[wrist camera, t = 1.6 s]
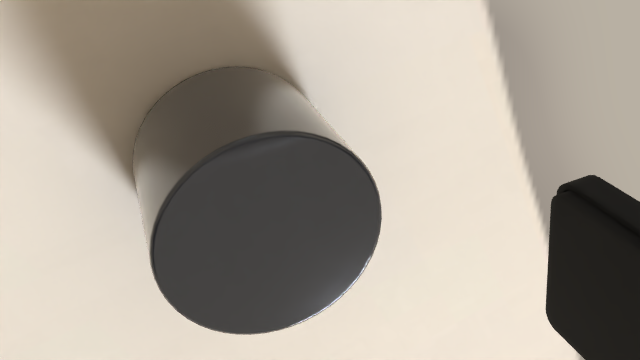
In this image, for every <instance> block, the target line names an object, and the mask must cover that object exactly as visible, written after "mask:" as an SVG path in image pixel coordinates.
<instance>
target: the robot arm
mask: <svg viewBox="0 0 640 360" xmlns="http://www.w3.org/2000/svg"><path fill="white" fill-rule="evenodd" d="M546 314H547V317H548V320H549V322H550V324H551V325H552V327H553V328H554V329H555V330H556V331H557V332H558V333H559V334H560V335H561V336H562V337H563V338H564V339H565V340H566V341H567V342H568V343H569V344H570V345H571V346H572V347H573V348H574V349H575V350H576V351H577V352H578V353H579V354H580V355H581V356H582V357H583V358H584V359H585V360H640V202H639V201H637V200H636V199H634V198H632V197H631V196H629V195H627V194H626V193H624V192H622V191H621V190H619V189H618V188H616V187H614V186H613V185H611V184H609V183H608V182H606V181H604V180H603V179H601V178H600V177H597V176H595V175H588V176H586V177H583V178H580V179H577V180H574V181H571V182H568V183H565V184H563V185H561V186H560V187H559V189H558V190H557V195H556V196H554V197H553V199H552V202H551V216H550V235H549V255H548V275H547V295H546Z"/></svg>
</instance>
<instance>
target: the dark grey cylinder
mask: <svg viewBox="0 0 640 360" xmlns="http://www.w3.org/2000/svg"><path fill="white" fill-rule="evenodd" d="M133 171H134V179H135V184H136V189H137V195H138V200H139V206H140V211H141V217H142V222H143V227H144V233H145V238H146V244H147V249H148V254H149V260H150V265H151V269H152V273H153V276H154V279H155V281H156V284H157V286H158V288H159V290H160V291H161V293H162V294H163V296H164V297H165V299H166V300H167V301H168V302H169V303H170V304H171V305H172V306H173V307H174V308H175V310H177V311H178V312H179V313H181V314H182V315H183V316H184V317H186V318H187V319H189V320H191V321H192V322H194V323H196V324H198V325H200V326H203V327H205V328H208V329H211V330H214V331H219V332H223V333H230V334H248V335H251V334H261V333H268V332H273V331H278V330H282V329H285V328H288V327H291V326H294V325H296V324H299V323H301V322H304V321H306V320H308V319H310V318H312V317H313V316H315V315H317V314H319V313H320V312H322V311H323V310H325V309H326V308H328V307H330V306H331V305H332V304H333V303H335V302H336V301H337V300H338V299H340V298H341V297H342V296H343V295H344V294H345V293H346V292H347V291H348V290H349V289H350V288H351V287H352V286H353V284H354V283H355V282H356V281H357V280H358V278H359V277H360V276H361V274H362V273H363V271H364V270H365V268H366V267H367V265H368V263H369V261H370V259H371V257H372V255H373V253H374V250H375V247H376V245H377V242H378V238H379V234H380V228H381V219H382V218H381V202H380V196H379V191H378V188H377V186H376V183H375V180H374V178H373V176H372V175H371V173H370V171H369V169H368V168H367V167H366V165H365V164H364V163H363V162H362V160H361V159H360V158H359V157H358V156H357V155H356V153H355V152H354V151H353V150H352V149H351V148H350V147H349V146H348V144H347V143H346V142H345V141H344V140H343V139H342V138H341V137H340V136H339V134H338V133H337V132H336V131H335V130H334V129H333V128H332V127H331V125H330V124H329V123H328V122H327V121H326V120H325V119H324V118H323V117H322V115H321V114H320V113H319V112H318V111H317V110H316V109H315V108H314V106H313V105H312V104H311V103H310V102H309V101H308V100H307V99H306V98H305V96H304V95H303V94H302V93H301V92H300V91H299V90H298V89H296V88H295V87H294V86H293V85H292V84H290V83H289V82H287V81H286V80H284V79H282V78H280V77H278V76H276V75H275V74H272V73H269V72H266V71H263V70H259V69H254V68H247V67H226V68H219V69H214V70H209V71H206V72H203V73H200V74H197V75H195V76H193V77H191V78H189V79H186V80H184V81H183V82H181V83H180V84H178V85H176V86H175V87H173V88H172V89H171V90H170V91H168V92H167V93H166V94H165V95H164V96H162V98H161V99H160V100H159V101H158V102H157V103H156V104H155V105H154V106H153V107H152V109H151V110H150V112H149V113H148V115H147V116H146V118H145V119H144V121H143V123H142V125H141V127H140V129H139V132H138V135H137V138H136V141H135V146H134V151H133Z"/></svg>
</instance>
